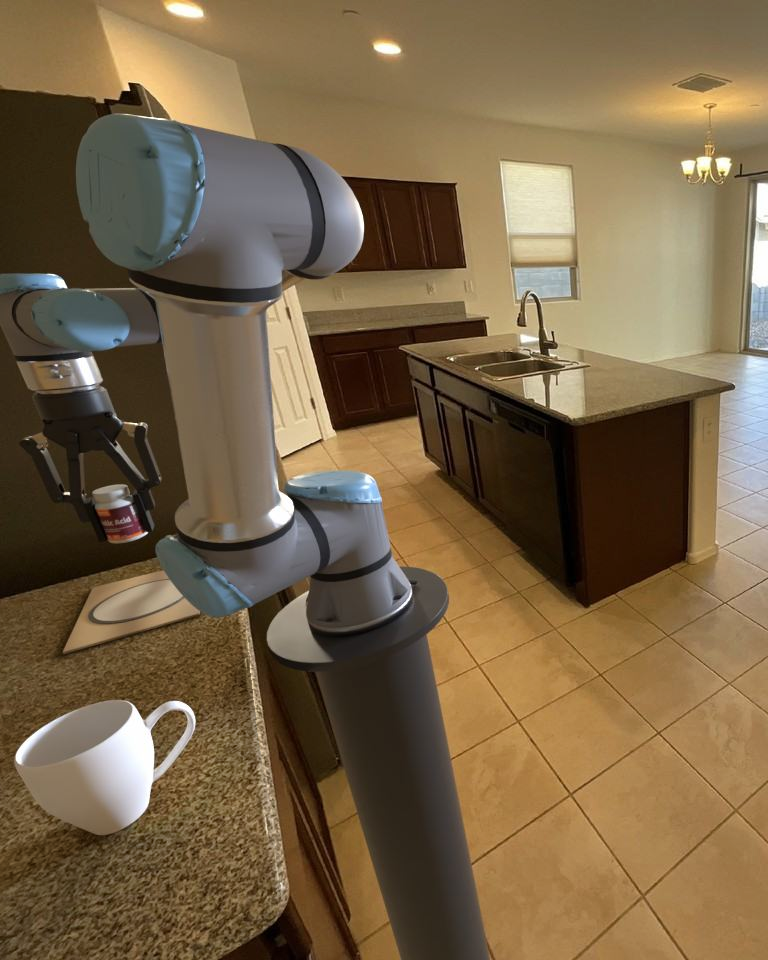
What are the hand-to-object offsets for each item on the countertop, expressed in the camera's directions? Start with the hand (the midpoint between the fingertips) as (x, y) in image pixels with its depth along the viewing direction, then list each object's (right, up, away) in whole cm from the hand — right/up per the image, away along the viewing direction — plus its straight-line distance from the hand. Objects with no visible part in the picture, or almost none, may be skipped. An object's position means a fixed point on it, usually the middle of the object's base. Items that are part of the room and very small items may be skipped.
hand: (127, 533), depth 83 cm
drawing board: (-4, -13, +7) cm, 15 cm away
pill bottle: (0, -1, 0) cm, 1 cm away
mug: (+30, -26, -28) cm, 48 cm away
